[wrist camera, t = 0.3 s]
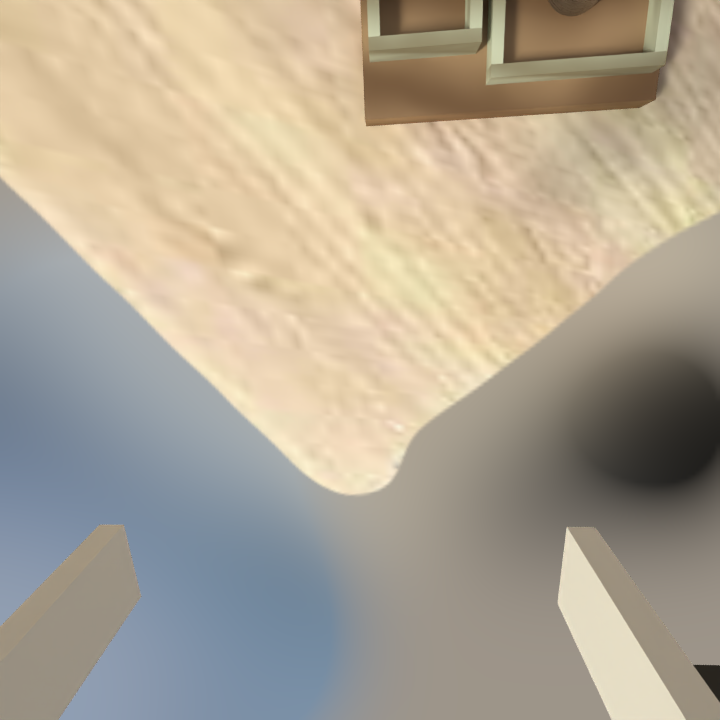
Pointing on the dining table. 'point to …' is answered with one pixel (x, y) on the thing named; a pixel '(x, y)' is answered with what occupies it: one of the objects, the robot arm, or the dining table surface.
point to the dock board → (508, 58)
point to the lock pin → (572, 6)
